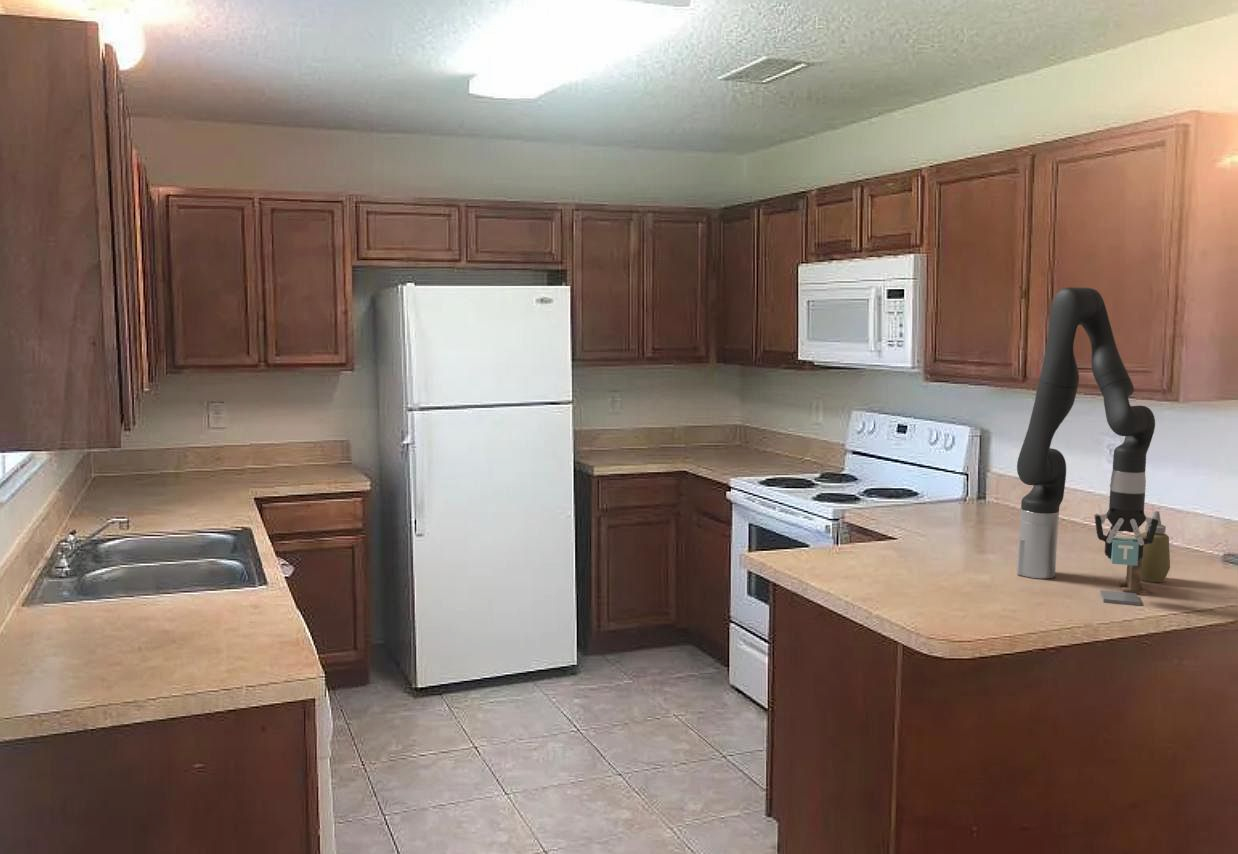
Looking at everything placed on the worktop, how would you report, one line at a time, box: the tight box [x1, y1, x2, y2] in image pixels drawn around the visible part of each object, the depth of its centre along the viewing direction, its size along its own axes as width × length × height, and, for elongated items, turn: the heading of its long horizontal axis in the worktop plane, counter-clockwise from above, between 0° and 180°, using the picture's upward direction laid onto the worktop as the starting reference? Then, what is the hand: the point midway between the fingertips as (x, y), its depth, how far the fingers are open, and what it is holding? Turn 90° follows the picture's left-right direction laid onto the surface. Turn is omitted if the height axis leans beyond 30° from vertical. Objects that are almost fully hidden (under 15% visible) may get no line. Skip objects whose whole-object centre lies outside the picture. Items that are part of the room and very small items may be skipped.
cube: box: [1108, 536, 1139, 566], centre depth 248 cm, size 6×6×6 cm
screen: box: [1118, 558, 1147, 596], centre depth 258 cm, size 5×8×12 cm, turn 161°
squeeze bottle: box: [1140, 510, 1171, 583], centre depth 266 cm, size 8×8×18 cm
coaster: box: [1099, 589, 1142, 607], centre depth 250 cm, size 8×8×1 cm
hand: (1123, 558), depth 249 cm, fingers closed on cube, 5 cm apart
